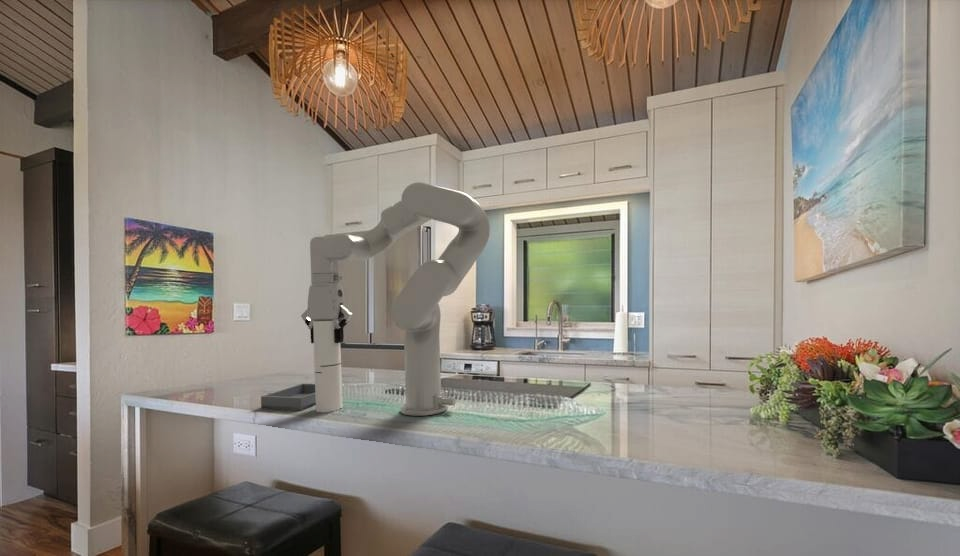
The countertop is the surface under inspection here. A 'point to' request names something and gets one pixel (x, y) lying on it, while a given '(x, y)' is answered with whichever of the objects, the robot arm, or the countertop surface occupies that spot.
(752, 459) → the countertop surface
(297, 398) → the charcoal tray
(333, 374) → the cylindrical container
